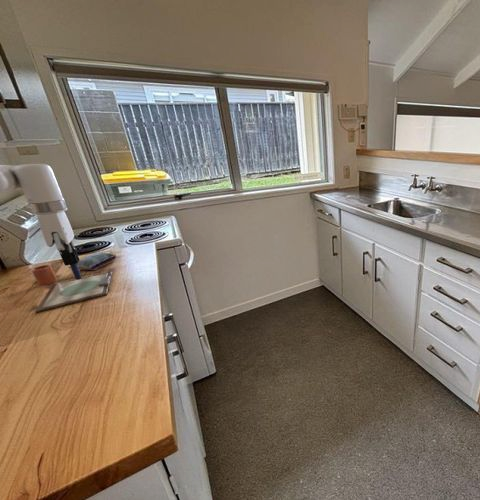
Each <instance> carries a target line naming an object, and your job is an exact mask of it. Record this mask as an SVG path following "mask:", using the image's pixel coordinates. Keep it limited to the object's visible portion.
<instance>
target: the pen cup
mask: <svg viewBox="0 0 480 500" xmlns="http://www.w3.org/2000/svg"><path fill="white" fill-rule="evenodd" d="M30 270H31V273H32V275H33V277H34V279H35V281H36V283H37V285H38V286H47V285H50V284H54V283H55V282H57V281H58V277H57V276H56V273H55V272H54V270H53V267H52V266H51V264H43V265H38V266H36V267H32V268H31V269H30Z"/></svg>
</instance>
